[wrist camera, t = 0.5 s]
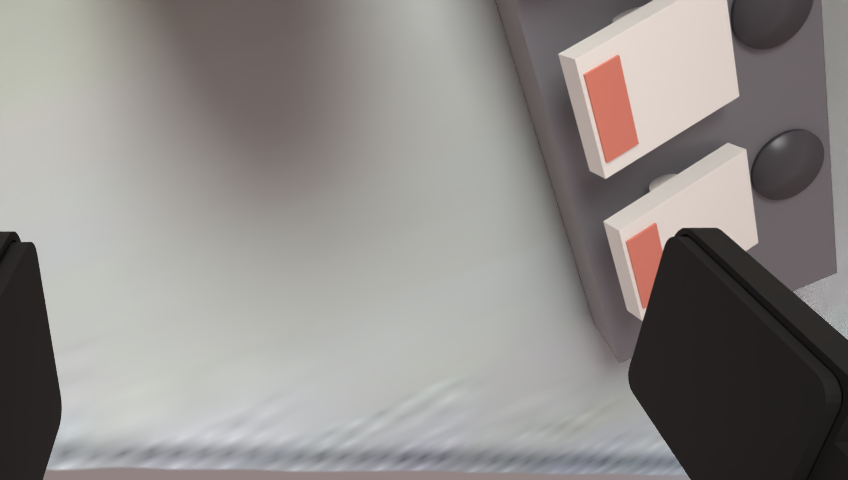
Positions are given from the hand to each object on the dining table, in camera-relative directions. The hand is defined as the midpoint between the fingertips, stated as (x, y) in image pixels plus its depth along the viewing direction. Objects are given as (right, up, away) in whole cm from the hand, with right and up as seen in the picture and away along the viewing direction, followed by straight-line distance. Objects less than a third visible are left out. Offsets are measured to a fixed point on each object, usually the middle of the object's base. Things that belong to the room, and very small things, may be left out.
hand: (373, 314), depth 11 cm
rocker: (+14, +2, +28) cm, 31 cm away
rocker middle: (+11, +9, +23) cm, 27 cm away
